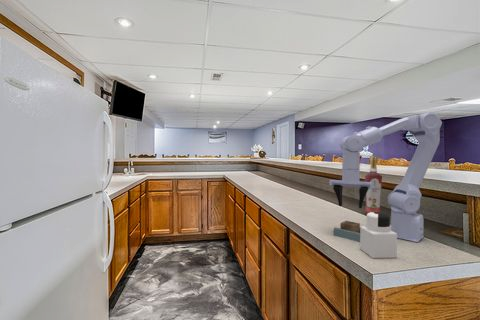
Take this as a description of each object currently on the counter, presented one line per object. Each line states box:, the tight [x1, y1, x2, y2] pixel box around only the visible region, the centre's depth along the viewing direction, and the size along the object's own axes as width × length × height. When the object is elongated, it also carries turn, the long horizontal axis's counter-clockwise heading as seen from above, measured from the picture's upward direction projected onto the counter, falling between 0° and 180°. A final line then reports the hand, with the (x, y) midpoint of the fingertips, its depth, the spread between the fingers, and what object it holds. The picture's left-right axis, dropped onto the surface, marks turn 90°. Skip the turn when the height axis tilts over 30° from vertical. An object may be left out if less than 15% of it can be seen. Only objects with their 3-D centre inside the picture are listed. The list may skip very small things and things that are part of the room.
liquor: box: [364, 156, 383, 215], centre depth 119 cm, size 7×7×28 cm
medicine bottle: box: [359, 211, 398, 259], centre depth 74 cm, size 7×7×12 cm
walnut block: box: [339, 220, 361, 233], centre depth 90 cm, size 5×4×4 cm
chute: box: [333, 227, 360, 243], centre depth 90 cm, size 10×8×2 cm
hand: (350, 206), depth 90 cm, fingers open, 6 cm apart
